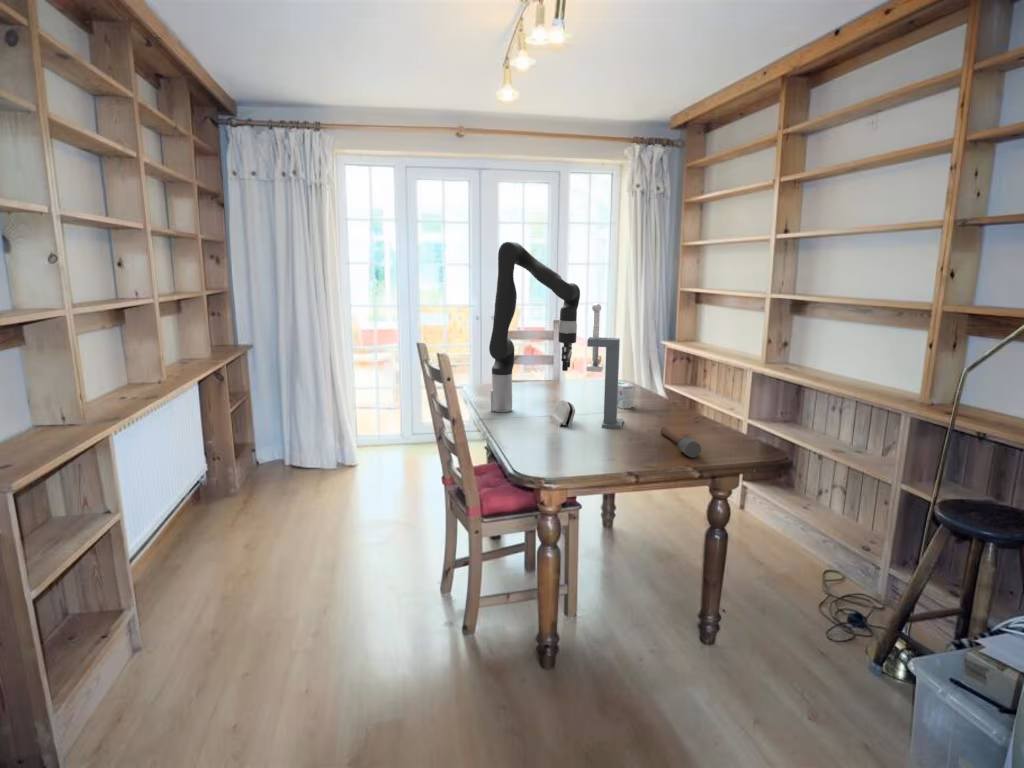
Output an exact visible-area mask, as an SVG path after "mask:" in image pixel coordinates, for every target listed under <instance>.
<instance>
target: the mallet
mask: <svg viewBox="0 0 1024 768" xmlns="http://www.w3.org/2000/svg"><path fill="white" fill-rule="evenodd" d="M659 431H660V434H661V435H662V434H663V436H664V437H667V438H669V439H670V440H671V441H673V442H674V443H676V444H677V449H678V451H679V453H682V452H683V453H682V454H684V455H686V456H688V457H689V458H692V459H693V458H696V457H697V458H698V456H699V455H700V454H701V452H702V446H701V444H700V443H699V442H697V441H695V440H694V439H693V438H691V437H690V436H683V437H680V436H678V435H677V434H675V433H673V432H672V431H670V430H669V429H668V428H667V427H666V426H665V427H662V428H661V429H660V430H659Z"/></svg>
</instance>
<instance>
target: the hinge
mask: <svg viewBox="0 0 1024 768" xmlns="http://www.w3.org/2000/svg"><path fill="white" fill-rule="evenodd" d="M575 414H576V408H575V406H574V404H572V403H571V402H569V401H567V400H558V401H557V404H556V407H555V408H554V411H553V412H552V413H550V414H549V418H550V420H551V421H552V422H553V421H554V422H555V423H556V424H555V423H554V422H553V423H554V424H555V425H558V426H559V427H558V428H561V425H563V426H567V427H569V426H571V427H572V423H573V420H574V417H575Z"/></svg>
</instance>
